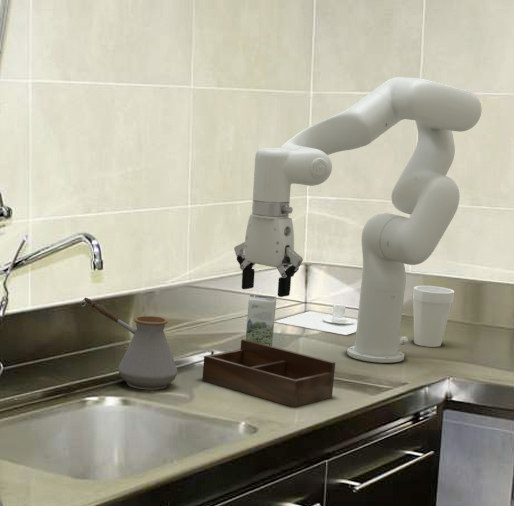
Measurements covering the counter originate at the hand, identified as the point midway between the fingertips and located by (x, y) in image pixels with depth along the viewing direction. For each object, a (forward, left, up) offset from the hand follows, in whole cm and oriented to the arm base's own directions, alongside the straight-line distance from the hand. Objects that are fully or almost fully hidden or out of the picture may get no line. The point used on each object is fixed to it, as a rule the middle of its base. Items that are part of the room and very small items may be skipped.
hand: (265, 292), depth 253 cm
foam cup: (-52, +9, -16) cm, 55 cm away
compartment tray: (+14, +14, -16) cm, 25 cm away
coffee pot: (+33, -6, -16) cm, 37 cm away
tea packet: (+1, 0, -16) cm, 16 cm away
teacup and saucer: (-50, -19, -16) cm, 55 cm away
